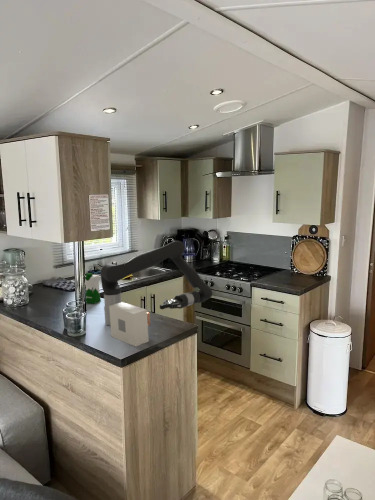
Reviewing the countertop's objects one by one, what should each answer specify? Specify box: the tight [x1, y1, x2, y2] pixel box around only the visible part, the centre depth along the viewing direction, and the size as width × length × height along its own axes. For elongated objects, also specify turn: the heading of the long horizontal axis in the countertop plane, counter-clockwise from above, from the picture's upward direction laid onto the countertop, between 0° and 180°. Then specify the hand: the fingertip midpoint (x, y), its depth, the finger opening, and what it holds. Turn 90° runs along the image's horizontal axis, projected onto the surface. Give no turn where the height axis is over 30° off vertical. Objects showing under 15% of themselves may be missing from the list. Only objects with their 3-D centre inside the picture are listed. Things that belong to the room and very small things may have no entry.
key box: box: [109, 301, 150, 347], centre depth 188 cm, size 20×8×16 cm, turn 45°
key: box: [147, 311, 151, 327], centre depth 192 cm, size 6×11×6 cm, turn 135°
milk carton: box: [84, 272, 101, 305], centre depth 253 cm, size 9×9×20 cm
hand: (160, 307), depth 202 cm, fingers closed
